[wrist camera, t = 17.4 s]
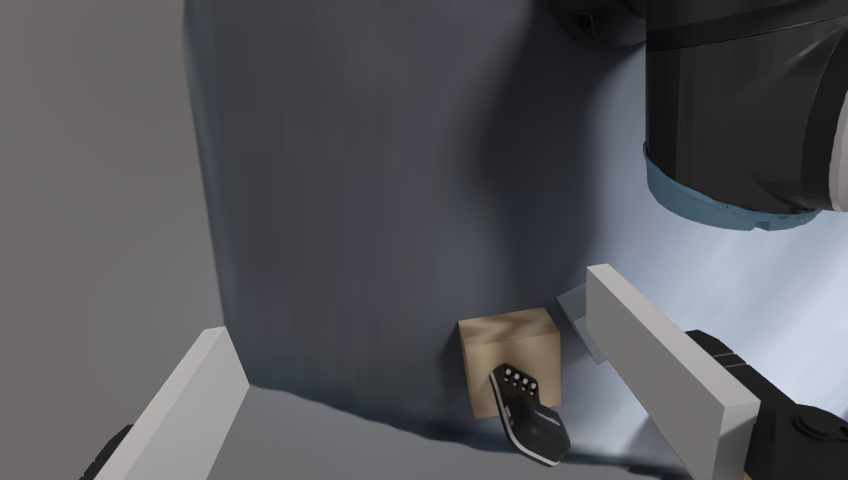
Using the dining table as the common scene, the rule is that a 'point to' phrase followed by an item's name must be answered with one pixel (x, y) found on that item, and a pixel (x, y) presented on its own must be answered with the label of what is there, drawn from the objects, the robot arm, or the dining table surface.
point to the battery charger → (528, 417)
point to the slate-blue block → (580, 319)
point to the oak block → (511, 355)
